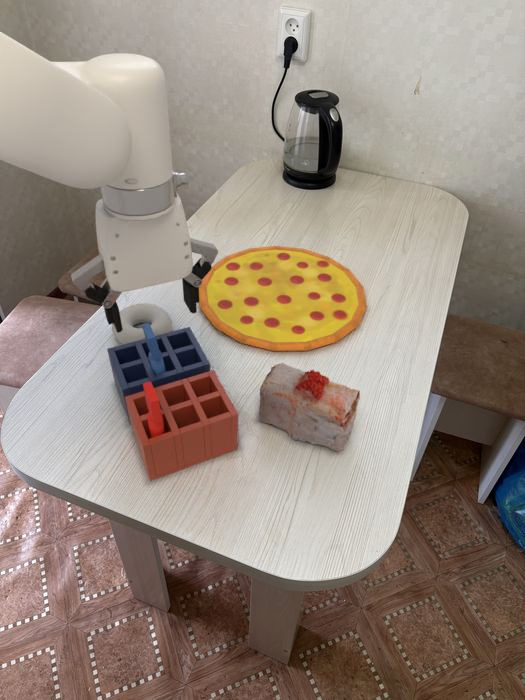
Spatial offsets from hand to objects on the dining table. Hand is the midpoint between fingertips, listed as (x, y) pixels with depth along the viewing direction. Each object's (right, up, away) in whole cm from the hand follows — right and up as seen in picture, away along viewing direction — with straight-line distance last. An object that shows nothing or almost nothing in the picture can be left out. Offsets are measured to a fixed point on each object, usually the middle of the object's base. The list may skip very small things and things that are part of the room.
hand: (154, 316), depth 65 cm
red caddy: (+3, -17, +7) cm, 19 cm away
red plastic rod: (0, -19, +3) cm, 19 cm away
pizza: (+18, +6, +32) cm, 37 cm away
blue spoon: (-1, -11, +11) cm, 16 cm away
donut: (-7, -1, +23) cm, 24 cm away
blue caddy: (-1, -11, +13) cm, 17 cm away
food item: (+20, -16, +10) cm, 27 cm away
